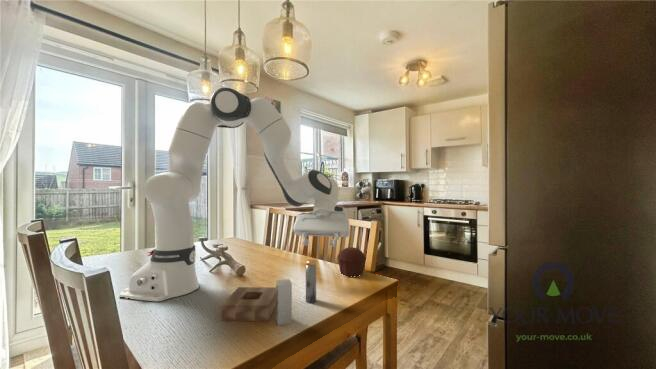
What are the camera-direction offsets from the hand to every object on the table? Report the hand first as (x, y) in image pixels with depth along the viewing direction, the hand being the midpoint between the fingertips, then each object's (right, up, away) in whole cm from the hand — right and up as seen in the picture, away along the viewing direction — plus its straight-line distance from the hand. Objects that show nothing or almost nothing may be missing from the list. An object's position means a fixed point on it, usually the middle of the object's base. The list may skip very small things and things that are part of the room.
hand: (318, 245), depth 90 cm
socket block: (-18, -14, -16) cm, 28 cm away
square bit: (-8, -14, -22) cm, 27 cm away
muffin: (+13, -15, +15) cm, 24 cm away
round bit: (-2, -14, -10) cm, 18 cm away
